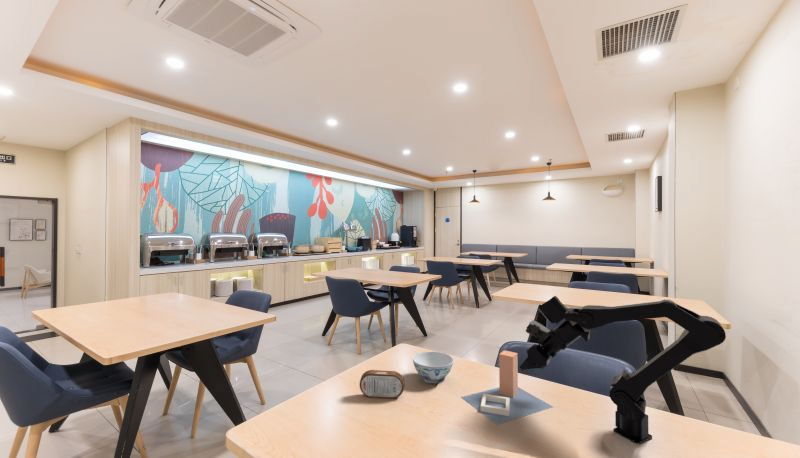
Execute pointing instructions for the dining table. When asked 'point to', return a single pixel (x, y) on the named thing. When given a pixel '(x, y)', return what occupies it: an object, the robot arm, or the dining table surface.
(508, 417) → the board
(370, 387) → the tin
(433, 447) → the dining table surface
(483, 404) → the snap socket
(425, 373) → the chinaware
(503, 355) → the terracotta pillar
